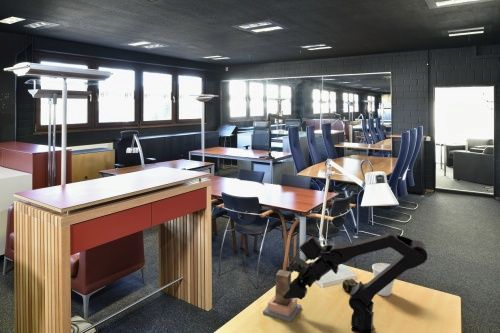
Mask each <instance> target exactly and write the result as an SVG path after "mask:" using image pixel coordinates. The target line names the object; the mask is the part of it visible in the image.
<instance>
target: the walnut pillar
mask: <svg viewBox="0 0 500 333" xmlns="http://www.w3.org/2000/svg"><path fill="white" fill-rule="evenodd" d="M291 282H292V271H288V270H283V269H279V270H278V271H277V273H275V293H274V294H275V295H274V296H275V303H277V304H280V305H284V306H288V305H289V304H290V299H284V298H283V296H284V295H285V294H286V293H287V291H288V290H289V289H290V288H289V284H290V283H291Z"/></svg>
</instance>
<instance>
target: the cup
mask: <svg viewBox="0 0 500 333" xmlns="http://www.w3.org/2000/svg"><path fill="white" fill-rule="evenodd" d="M390 264H391V263H390ZM390 264H389V263H386V262H385V263H384V262H379V263H378V262H377V263H373V264H372V265H371V268H372V272H373V273H372V274H373V278H375V277H376V276H377V275H378V274H379V273H381V272H382V271H383V270H384V269H386V268H387V267H388V266H389V265H390ZM394 283H395V280H393V281H392V282H391V283H390V284H388V285H387V286H386V287H385V288H383V289H382V290H381V291H379V292H378V293H377V294H376V295H378V296H382V297H388V296H390V295H391V293H392V290H393V287H394Z"/></svg>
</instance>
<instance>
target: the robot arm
mask: <svg viewBox="0 0 500 333" xmlns="http://www.w3.org/2000/svg"><path fill="white" fill-rule="evenodd" d="M388 248H390V249H393V250H394V251H395V252H397V253H398V254H400V255H399V257H397V259H395V260H394V261H392V263H390V265H389V266H388V267H387V268H386V269H384V270H383V271H382V272H381V273H379V274H378V275H377V276H376V277H375V278H374V277H373V278H372V279H370V280H369V281H368V282H366V283H363V282H362V281H359V282H357V283H358V284H357V285H356V286H354V287H353V288H352V291H351V292H350V295H349V299H348V305H349V307H350V308H351V309H352V311H353V312H352V314H351V320H350V326H351V331H353V332H355V333H373V330H374V315H375V314H374V311H373V310H374V305H375V304H374V301H373V299H374V297H375V296H376V295H378V294H377V293H378V292H379V291H381V290H382V289H383V288H385V287H386V286H387V285H388V284H390V283H391V282H392V281H393V280H394V281H395V280H396V279H397V278H398V277H400V276H401V275H402V274H403V273H405V272H406V271H408V270H410V269H415V268H417V267H419V266H421V265H423V264H425V262H427V260H428V251H427V246H426V244H425V243H424V242H422V241H421V240H414V239H412V238H409V237H406V236H403V235H400V234H397V233H396V232H393V231H389V232H387V233H384V234H381V235H378V236H374V237H370V238H366V239H363V240H359V241H356V242H337V243H334V244H333V245H331V244H324V245H323V246H322V244H321V243H319V242H318V240H317V238H316V237H315V236H314V235H312V236H311V237H309V238H307V239H306V240H304V241H303V242H302V243H301V244H300V245H299V247H298V249H299V250H300V251H301V253H303V254H304V256H305V257H306V258H307V259H308V260H309V261H310V262H306V260H304V259H302V258H301V257H299V256H297V255H294V256H293V257H292V258H291V260H290V262H289V263H288V268H289V269H290V270H292V271H294V272H296V273H298V274H297V276H296V277H295V278H294V279H293V280H291V283H290V284H289V288H290V289H289V290H288V291H287V293H286V294H285V295H284V296H283V298H284V299H292V298H297V299H299V300H302V299H303V300H304V298H305V297H306V296H307V293H308V288H311V287H313V284H314V283H315V282H319V281H321V278H322V277H323V276H325V275H327V274H328V273H329V272H330V271H332V272H333V273H334V274H335V275H337V274H338V271H339V266H340V265H343V264H345V263H346V262H349V261H351V260H353V258H355V257H357V256H361V255H366V254H370V253H373V252H377V251H381V250H384V249H388ZM312 261H313V262H312ZM307 286H308V288H307Z"/></svg>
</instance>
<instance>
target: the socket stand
mask: <svg viewBox="0 0 500 333" xmlns="http://www.w3.org/2000/svg"><path fill="white" fill-rule="evenodd" d="M301 309H302V304H299V303H298V298H292V299H290V304H289V305H288V306H284V305H280V304H277V303H275V295H274V296H273V297H272V298H271V299H270V300H269V301H268V302H267V306H266V307H265V308H264V310H262V314H263V315H267V316H270V317H272V318H276V319H280V320H283V321H285V322H286V321H287V322H290V323H291V322H292V321H293V319H294V318H295V317H296V315H297V314H298V313H299V311H300V310H301Z"/></svg>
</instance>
